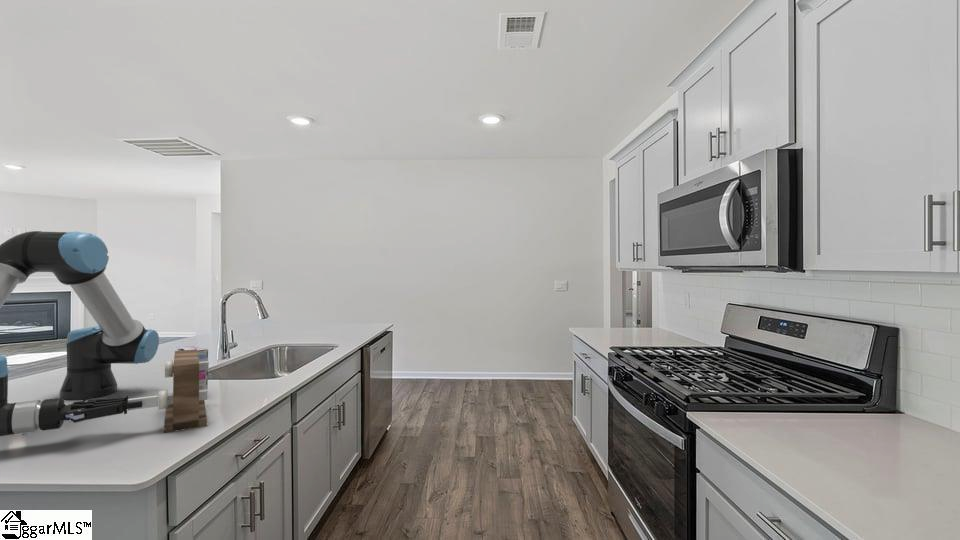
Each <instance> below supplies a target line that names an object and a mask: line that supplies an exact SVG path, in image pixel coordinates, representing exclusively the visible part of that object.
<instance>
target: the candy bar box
mask: <svg viewBox="0 0 960 540" xmlns="http://www.w3.org/2000/svg"><path fill="white" fill-rule="evenodd" d="M194 349H197V352H198V359H199V362H202V361H208V362H209V360H208V359H209V349H208V348H207V349H206V348H203V347H202V348H201V347H197V346H184V347H178V348H177V351H181V350H194ZM208 372H209V370H202V371H199V390H204V389H207V390H208V379H209V377H208V375H209V374H208Z"/></svg>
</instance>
